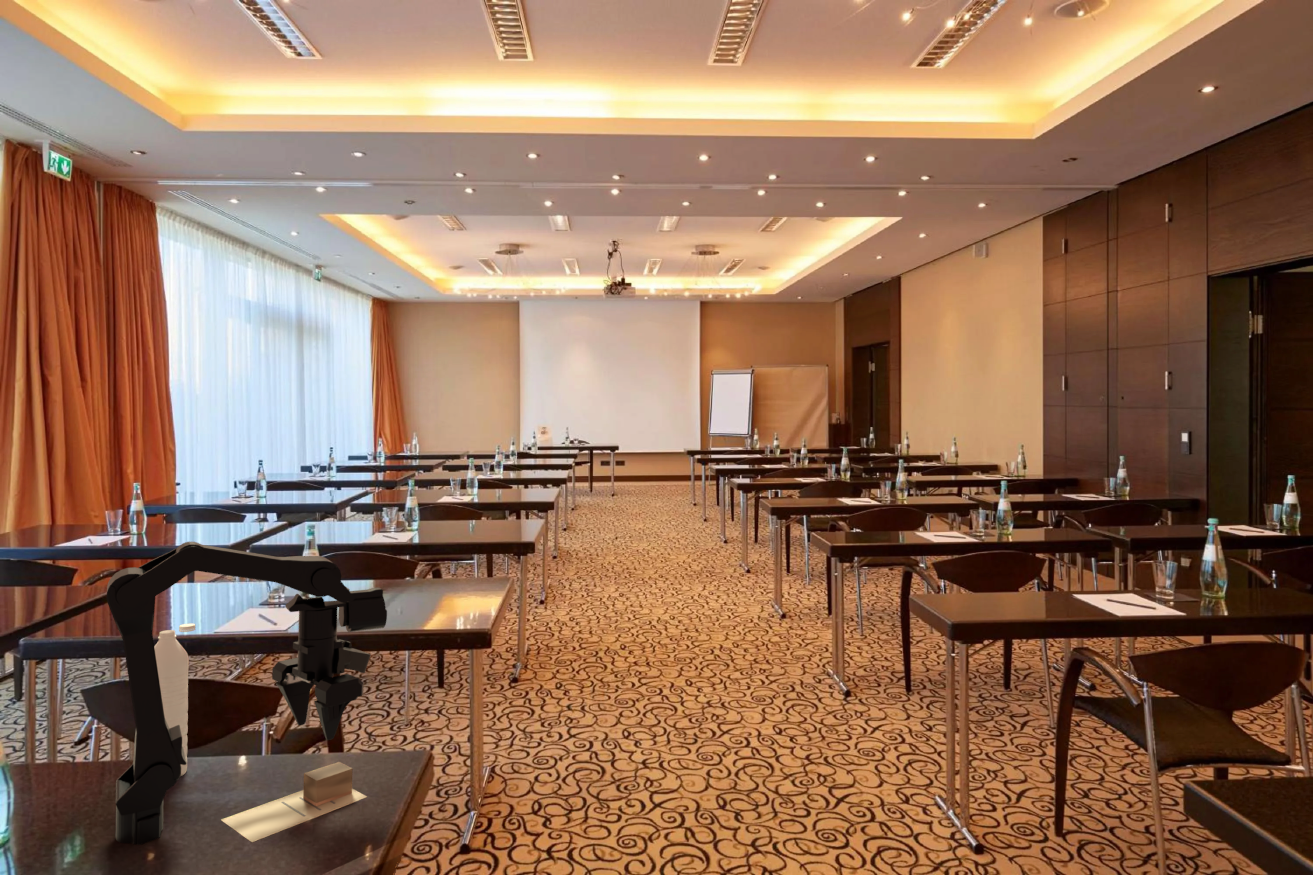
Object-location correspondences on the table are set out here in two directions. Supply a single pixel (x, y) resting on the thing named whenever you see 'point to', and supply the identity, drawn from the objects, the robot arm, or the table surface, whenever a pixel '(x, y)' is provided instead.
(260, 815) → the birch board
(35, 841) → the table surface
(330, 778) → the block
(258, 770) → the table surface
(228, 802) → the table surface
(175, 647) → the water bottle
